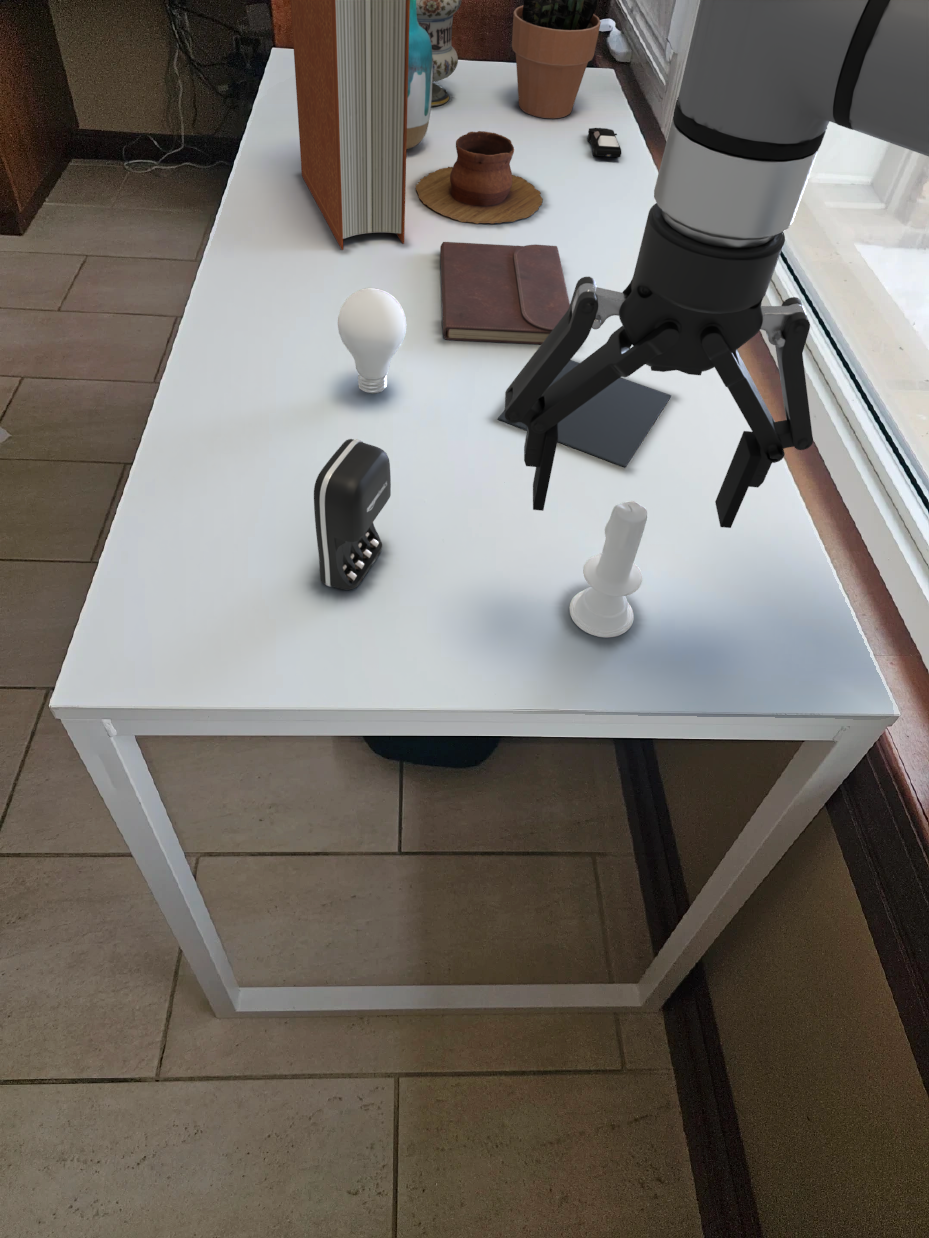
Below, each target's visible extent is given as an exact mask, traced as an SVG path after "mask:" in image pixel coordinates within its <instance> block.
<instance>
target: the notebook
mask: <svg viewBox="0 0 929 1238" xmlns="http://www.w3.org/2000/svg"><path fill="white" fill-rule="evenodd" d="M439 249H440V251H439V253H440V276H441V277H440V279H441V309H442V310H441V311H442V312H441V313H442V314H441V315H442V335H443V338H444V340H446V341H461V342H462V341H463V342H484V343H485V342H486V343H505V344H523V345H524V344H525V345H526V344H527V345H528V344H529V345H541V344H542V343H543V342H544V340H545V339H546V338H547V337H548V335H549V334H550V333H551V331H552V330H553V329H554V327H555V326H556V325H557V324H558V322H559V321H560V320H561V318H562V317H563V316H564V314H565V313H566V312H567V311H568V309H569V306H570V303H571V302H570V299H569V294H568V288H567V285H566V280H565V275H564V271H563V266H562V261H561V257H560V252H559V247H558V246H557V245H549V244H527V245H514V244H513V245H512V244H511V245H510V244H493V243H477V242H475V243H474V242H454V241H442V243H441V244H440V247H439Z"/></svg>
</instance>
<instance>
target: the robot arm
mask: <svg viewBox="0 0 929 1238" xmlns="http://www.w3.org/2000/svg"><path fill="white" fill-rule="evenodd" d="M679 88H680V89H679V92H678V96H677V97H676V99H677V100H676V101H675V104H674V110H673V116H672V119H671V123H670V127H669V130H668V131H669V132H668V134H667V139H666V142H665V147H664V151H663V155H662V159H661V162H660V166H659V170H658V174H657V178H656V181H655V186H654V190H653V199H654V200H655V202H656V203H654V204H653V205H652V206H651V207H650V208H649V211H648V214H647V218H646V222H645V226H644V231H643V233H642V239H641V243H640V246H639V251H638V254H637V259H636V264H635V267H634V272H633V275H632V278H631V280H630V282H629V283H628V285H627V286H626V287H625V289H623V291H622V292H621V291H618V290H617V291H616V290H611V289H607V288H602V287H598V286H597V282H596V280H595V279H594V278H593V277H591V276H583V277H581V278H580V279H578V280H577V282H576V284H575V287H574V290H573V294H572V296H571V300H570V302H569V303H570V306H569V309H568V311H567V312H566V313H565V314H564V316H563V317H562V318H561V320H560V321H559V322H558V324H557V325H556V326H555V327H554V329H553V330H552V331H551V333H550V334H549V335H548V337H547V338H546V339H545V340H544V342H543V343H542V344H540V345H539V347H538V348H537V349H536V351H535V352H533V355H532V356H531V357H530V359H529V360H528V361H527V363H525V365H524V366H523V368H522V369H521V370H520V372H519V373H518V374H517V376H516V377H515V378H514V379H513V381H512V382H511V383H510V385H509V386H508V387H507V388H506V390H505V393H504V394H505V396H504V410H505V418H506V420H507V421H508V422H510V423H517V422H521V423H523V424H525V425H526V426H527V430H526V434H525V438H524V440H525V441H524V445H523V446H524V447H523V462H524V464H525V467H530V468H535V469H534V476H533V480H532V481H533V482H532V510H533V511H544V510H545V504H546V501H547V496H548V495H547V494H548V490H549V485H550V480H551V477H552V476H551V475H552V471H553V465H554V461H555V455H556V450H557V446H558V442H557V441H558V423H559V422H560V421H561V420H563V419H564V418H565V417H567V416H568V415H569V414H571V413H572V412H574V411H575V410H576V409H578V408H579V407H580V406H582V405H583V404H584V403H586V402H587V401H589V400H590V399H591V398H593V397H594V396H595V395H597V394H598V393H599V392H601V391H602V390H604V389H605V388H606V387H608V386H609V385H610V384H612V383H613V382H614V381H616V380H617V379H619V378H620V377H621V378H629V377H630V376H631V375H632V374H634V373H636V371H638V370H640V369H641V368H642V367H644V366H645V365H646V366H648V367H650V371H651V372H661V373H664V372H665V373H666V372H672V371H678V372H681V373H684V374H687V375H692V376H702V373H703V372H708V371H710V370H713V369H715V370H716V373H717V374H718V376H719V378H720V379H721V381H722V383H723V385H724V387H725V388H727V389H728V391H729V393H730V395H731V396H732V398H733V400H734V401H735V404H736V405H737V407H738V409H739V411H740V412H741V414H742V416H743V418H744V420H745V421H746V423H747V425H748V426H749V429H750V430H751V431H749V430H743V432H742V434H741V437H740V439H739V441H738V444H737V447H736V449H735V451H734V453H733V457H732V460H731V461H730V464H729V466H728V469H727V472H726V474H725V476H724V479H723V482H722V484H721V487H720V489H719V492H718V494H717V496H716V498H715V501H714V503H715V508H716V512H717V518H718V522H719V527H720V528H727V529H731V528H732V526H733V524H734V522H735V519H736V517H737V515H738V512H739V510H740V508H741V505H742V503H743V501H744V499H745V496H746V494H747V492H748V490H749V488H759V487H760V486H762V485H763V484H764V482H765V480H766V477H767V475H768V473H769V471H770V468H771V466H772V464H775V463H779V462H780V461H782V460H783V459H784V458H785V454H786V453H785V449H788V448H793V447H794V449H796V450H798V451H804V450H807V449H810V447H811V446H812V445H813V442H814V437H813V428H812V421H811V411H810V405H809V397H808V388H807V380H806V372H805V364H804V355H803V352H804V349H805V346H806V343H807V339H808V335H809V332H810V330H811V323H810V320H809V318H808V314H807V312H806V309H805V308H804V305H803V303H802V300H801V299H800V298H798V297H797V296H796V297H795V296H791V297H788V298H786V299H785V300H784V301H783V302H782V303H781V305H762V304H763V300H764V298H765V296H766V293H767V291H768V289H769V286H770V283H771V281H772V278H773V275H774V272H775V269H776V268H777V265H778V262H779V259H780V256H781V254H782V251H783V248H784V245H785V242H786V236H785V232H784V231H787V230H788V229H789V228H790V226H791V225H792V224H793V222H794V221H795V217H796V214H797V211H798V208H799V205H800V202H801V201H802V197H803V194H804V192H805V188H806V186H807V184H808V180H809V178H810V174H811V171H812V169H813V166H814V163H815V160H816V158H817V155H818V152H819V149H820V147H821V146H822V143H823V140H824V138H825V134H826V131H827V130H828V126H829V123H833V124H836V125H837V126H840V127H844V128H846V129H849V130H852V131H856V132H858V133H861V134H864V135H867V136H869V137H873V138H876V139H878V140H881V141H883V142H887V143H888V144H892V145H896V146H898V147H901V148H903V149H907V150H909V151H912V152H915V153H918V154H919V155H920V154H921V155H924V156H926V157H929V0H699V5H698V7H697V14H696V17H695V22H694V27H693V31H692V35H691V40H690V44H689V49H688V53H687V57H686V61H685V67H684V70H683V74H682V79H681V83H680V87H679ZM614 316H618V318H619V321H620V323H621V326H620V327H618V328H617V329H616V330H615V331H613V332H612V333H611V335H609V337H608V339H607V341H606V342H605V343H604V344H603V345H601V346H600V347H599V348H598V349H595V351H593V352H592V353H591V354H590V355H588V356H586V358H584V359H583V360H582V361H581V362H578V363H579V364H578V365H577V366H576V367H574V368H573V369H572V370H570V371H569V372H568V373H566V374H565V375H564V376H563V377H561V378H560V379H559V380H557V381H556V382H555V383H553V384H552V385H551V386H550V384H551V383H552V382H553V381H554V379H555V378H556V377H557V376H558V374H559V373H560V372H561V371H562V370H563V368H564V367H565V366H566V365H567V363H568V362H569V361H570V360H572V358H573V357H574V356H575V355H576V354H577V352H578V351H580V349H581V348H582V346H583V345H584V343H585V342H586V341H587V339H588V337H589V336H590V333H591V330H598V329H600V328H601V326H603V325H604V323H605V322H606V321H607V320H608V319H609V318H611V317H614ZM760 330H761V331H764V332H765V333H766V337H767V340H768V342H769V344H771V345H773V346H775V354H776V360H777V366H778V375H779V380H780V381H779V382H780V387H781V395H782V400H783V401H782V402H783V408H784V415H785V419H783V420H778V421H775V419H774V417H773V415H772V414H771V412H770V410H769V408H768V406H767V404H766V402H765V400H764V398H763V397H762V395H761V392H760V391H759V389H758V387H757V385H756V384H755V382H754V379H753V377H752V376H751V374H750V372H749V371H748V368H747V367H746V365H745V363H744V361H743V359H742V357H741V355H740V354H739V351H738V350H739V349H740V348H741V347H743V346H744V345H745V344H746V343H747V342H749V341H750V340H752V339H753V338H754V337H755V336H756V335H757V334H759V332H760ZM549 386H550V387H549Z"/></svg>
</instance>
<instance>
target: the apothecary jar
mask: <svg viewBox="0 0 929 1238" xmlns="http://www.w3.org/2000/svg"><path fill="white" fill-rule="evenodd" d="M462 2H463V1H462V0H416V10H417V21H418V24H419V26H421V27H422V28H423V29H424V30H426V32H427V33H428V35H429V37H430V41H431V46H432V61H433V75H432V99H431V107H438V106H442V105H444V104H446V103H447V102H449V100H450V96H449V95H448V91H447V90H446V89H445V88H443V87H441V86H440V85H438V84H437V83H435V82H439V81H443V80H445V79H447V78H448V77H450V76H451V75H452V74H453V73H454V72H455V71H456V69H457V67H458V64H459V56H458V53H457V51H456V49H455V48H454V47H453V46H452V37H453V35H452V34H453V21H454V20H453V19H454V14H455V13H457V12H458V11H459V9H460V8H461V5H462Z"/></svg>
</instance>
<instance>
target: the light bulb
mask: <svg viewBox="0 0 929 1238" xmlns="http://www.w3.org/2000/svg"><path fill="white" fill-rule="evenodd" d="M407 327H408V326H407V317H406V314H405V311H404V309H403V307H402V304H401V303H400V302H399V301H398V300H397V298H395V297H394V295H392V294H391V293H389V292H388V291H385V290H384V289H380V288H375V287H367V288H366V287H365V288H362V289H359V290H357V291H355V292H353V293H351V294H350V295H349V296H348V297H347V298H346V299H345V300H344V302H343V303H342V305H341V306H340V309H339V313H338V316H337V329H338V330H337V331H338V334H339V337H340V339H341V342H342V343H343V345H344V346H345V348H346V349H347V350H348V351H349V353H350V355H351V356H352V358H353V360H354V365H355V370H356V372H357V374H358V377H357V383H358V385H357V387H358V388H359V390H360V391H362V392H364V393H365V394H370V395H376V394H381V393H383V392H384V391H385V389H386V388H387V387H388V373H389V371H390V366H391V361H392V359H393V357H394V356H395V354H396V352H397V351H398V350H399V349H400V347H401V345H402V344H403V343H404V340H405V337H406V334H407V333H406V332H407Z"/></svg>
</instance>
